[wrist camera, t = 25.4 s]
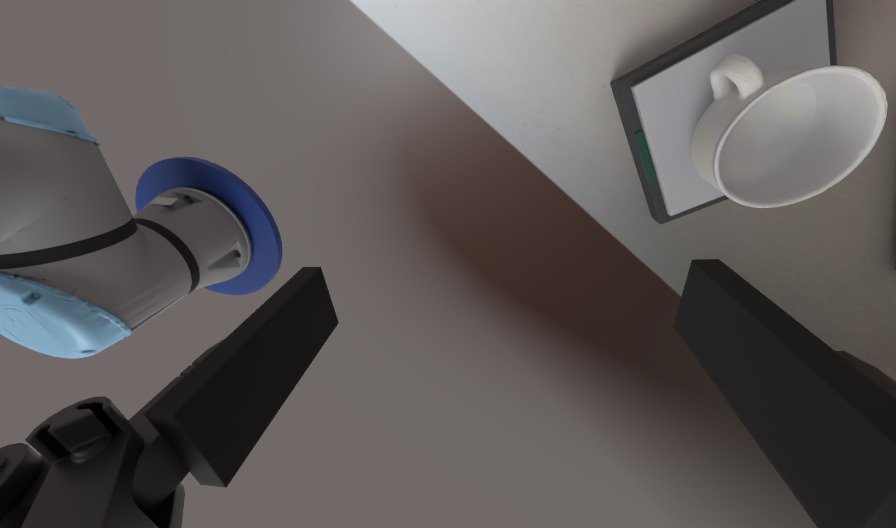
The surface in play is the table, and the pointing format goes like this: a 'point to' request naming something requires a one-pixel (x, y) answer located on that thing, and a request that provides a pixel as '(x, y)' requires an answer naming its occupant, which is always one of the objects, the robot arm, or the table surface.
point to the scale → (709, 92)
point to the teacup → (785, 130)
